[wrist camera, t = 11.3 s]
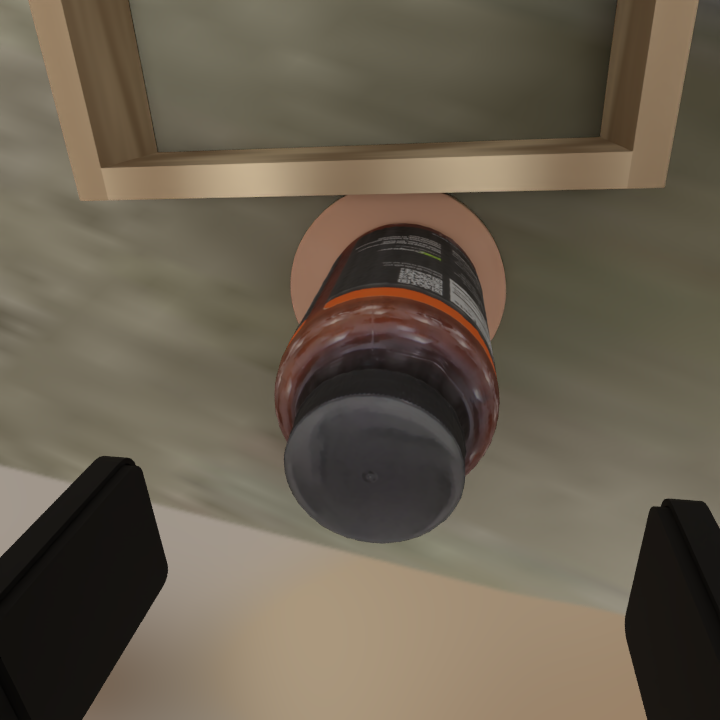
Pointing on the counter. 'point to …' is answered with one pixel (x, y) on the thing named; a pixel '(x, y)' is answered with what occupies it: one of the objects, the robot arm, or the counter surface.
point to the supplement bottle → (388, 387)
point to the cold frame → (361, 162)
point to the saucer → (378, 210)
